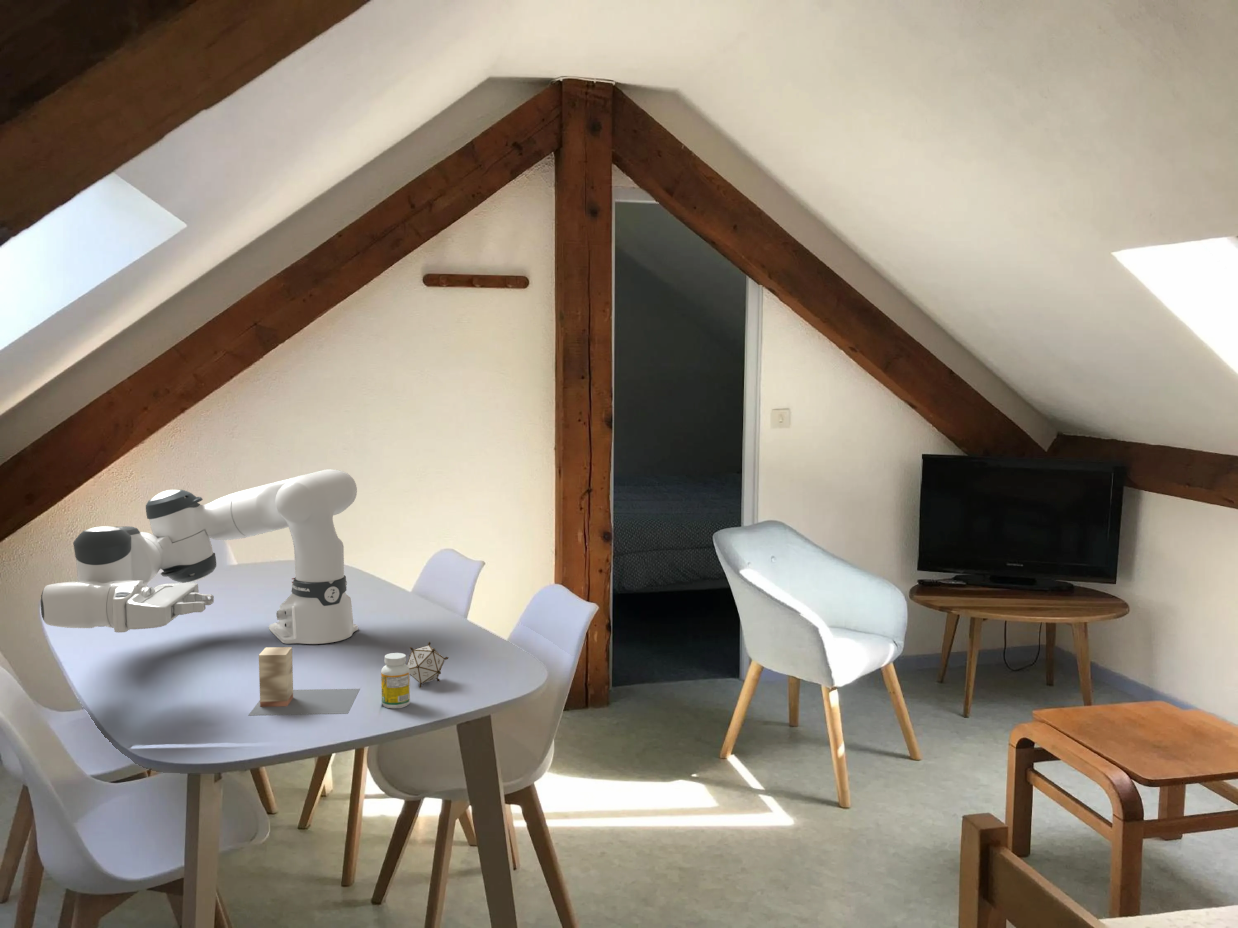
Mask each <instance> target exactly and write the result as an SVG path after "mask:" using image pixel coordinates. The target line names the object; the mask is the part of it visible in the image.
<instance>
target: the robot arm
mask: <svg viewBox="0 0 1238 928" xmlns="http://www.w3.org/2000/svg"><path fill="white" fill-rule="evenodd" d="M357 494H358V487H357V484H356V481H355V479H354V478H353V477H352V475H351V474H349V473H348V472H346V471H344V470H338V469H330V468H327V469H322V470H319V471H314V472H311V473H306V474H301V475H297V476H294V477H290V478H288V479H283V480H279V481H278V480H277V481H275V482H271V483H266V484H262V485H259V486H254V487H250V488H247V489H242V490H239V491H236V492H233V493H232V492H231V493H229V494H227V495H224V496H221V497H219V498H216V499H214V500H213V501H211V502H208V503H205V504H201V503H199V502H201V501H203V497H202V496H196V495H195V494H194V493H192V492H190V491H188V490H184V489H167V490H163V491H160V492H159V493H157V494H156V495H154V496H152V498H150V499H149V500H148V501H147V502H146V504H145V514H146V519H147V520H148V521H149V526H150V528H151V532H152V533H150V532H147V531H140V530H139V529H138V527H134V526H128V525H127V526H111V525H100V526H95V527H90V528H88V529H85V530H82V532H80V533H79V535H78V536H76V538H75V540H74V541H73V550H74V557H75V562H76V579H77V580H76V581H66V582H65V581H63V582H57V583H51V584H47V585H45V586H44V588H43V590H42V591H41V595H40V613H41V615H40V616H41V618H42V620H43V622H44V624H45V625H48V626H52V627H57V628H64V629H65V628H66V629H94V628H99V627H101V628H102V627H107V628H110V629H111V628H112V629H113V631H114V632H115V633H126V632H128V631H130V630H145V629H157V628H162V627H165V626H167V625H168V624H169V623H171V622H172V621H173V620H174V619H176V618H177V617H178V616H182V615H183V616H184V615H188V614H192V613H203V612H204V611H205V610H206V606H210V605H212V604H214V601H215V600H214V599H215V598H214V595H213V594H205V593H200V591H199V584H198V583H197V582H198V581H201V580H203V579H205V578H207V576H209V575H210V574H211V573H213V572H214V571H215V569H216V568H217V557H216V553H215V552H214V550H213V546H212V541H211V540H215V541H227V540H228V541H231V540H239V539H245V538H249V537H254V536H258V535H263V534H267V533H272V532H274V531H278V530H283V529H285V528H288V529H289V532H290V537H291V541H292V544H293V550H294V551H293V553H294V576H295V577H292V578H291V580H293V581H291V591H290V592H291V594H290V595H289V596H288V597H287V598H286V599H285V600H284V601H283V602H282V603H281V604H280V605H279V610H276V612H275V613H276V616H275V617H276V619H277V620H278V621H276V622H273V623H271V624H269V625H268V630H269V631H270V632H271V633H272V634H273V635H274V636H275V637H276V638H277V639H278V640H279V641H280V642H281V643H283V644H305V645H306V644H307V645H318V644H329V643H334V642H335V643H336V642H340V641H343V640H347V639H349V638H350V637H352V636H353V633H354V632H357V631H358V630H359V625H358V624H355V623H354V617H353V616H354V615H353V608H352V607H353V606H352V597H351V596H349V595H348V594H347V593H346V592H347V584H348V582H347V577H346V575H345V558H344V556H345V551H344V550H345V549H344V548H345V547H344V543H343V541H342V539H340V538H339V536H338V534H337V532H336V529H335V524H334V520H333V519H334V518H333V517H334V516H336V515H339V514H342V513H343V512H345V511H346V510H347V509H348V508H349V507H350V506H351V505H352V504H353V503H354V502H355V500H356V497H357ZM160 570H162V572H161V573H160V575H161V576H162V577H168V578H169V579H170V580H172V581H174V582H173V583H172V582H171V583H170V582H169V583H162V584H158V585H156V586H155V587H153V586H148V584H149V583H151V582H152V581H153V580H154V578H155V577H156V576H157V574H158V573H159V572H160Z"/></svg>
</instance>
